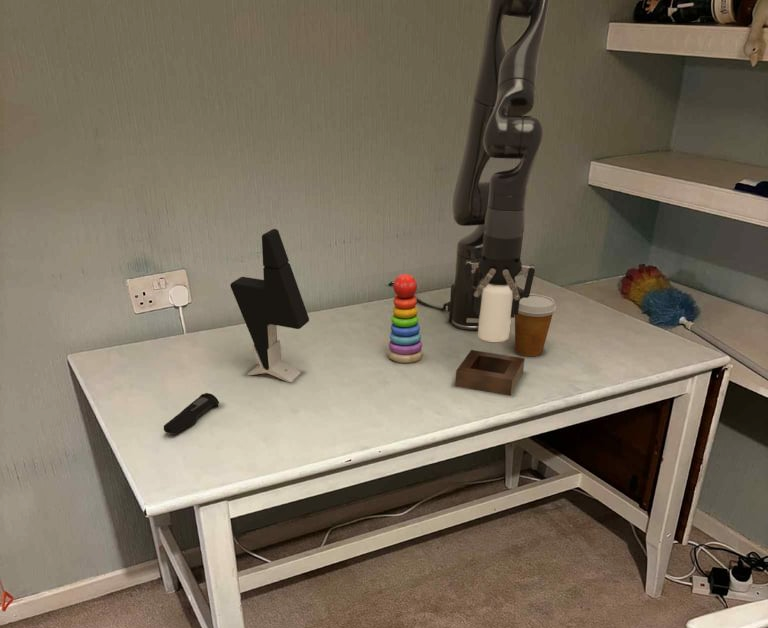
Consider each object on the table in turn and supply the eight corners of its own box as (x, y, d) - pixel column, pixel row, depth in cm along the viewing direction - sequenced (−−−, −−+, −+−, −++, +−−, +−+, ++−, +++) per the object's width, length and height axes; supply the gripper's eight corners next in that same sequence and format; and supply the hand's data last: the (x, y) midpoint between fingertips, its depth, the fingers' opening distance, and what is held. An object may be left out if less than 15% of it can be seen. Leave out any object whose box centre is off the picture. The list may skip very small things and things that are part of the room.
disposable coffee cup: (553, 347, 181) (561, 297, 174) (543, 362, 173) (550, 310, 167) (514, 340, 184) (520, 291, 177) (502, 354, 177) (508, 303, 170)
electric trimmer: (159, 437, 143) (156, 422, 141) (205, 402, 155) (203, 387, 153) (176, 441, 142) (173, 426, 140) (221, 405, 154) (219, 391, 152)
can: (507, 345, 157) (514, 287, 150) (476, 342, 158) (481, 284, 152) (509, 333, 163) (516, 276, 156) (479, 330, 164) (484, 274, 157)
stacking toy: (408, 347, 179) (410, 266, 169) (429, 359, 174) (433, 276, 164) (380, 355, 176) (381, 273, 165) (401, 367, 170) (404, 283, 160)
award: (312, 374, 167) (306, 231, 150) (302, 384, 162) (295, 238, 145) (249, 364, 170) (236, 223, 154) (238, 373, 166) (223, 230, 149)
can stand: (454, 386, 163) (456, 370, 161) (469, 364, 172) (471, 349, 170) (510, 395, 159) (512, 380, 157) (523, 373, 169) (524, 358, 167)
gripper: (542, 228, 150) (531, 311, 160) (468, 223, 152) (462, 305, 162) (541, 239, 144) (530, 324, 154) (464, 234, 146) (458, 318, 156)
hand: (495, 314), depth 158 cm, fingers closed on can, 6 cm apart
